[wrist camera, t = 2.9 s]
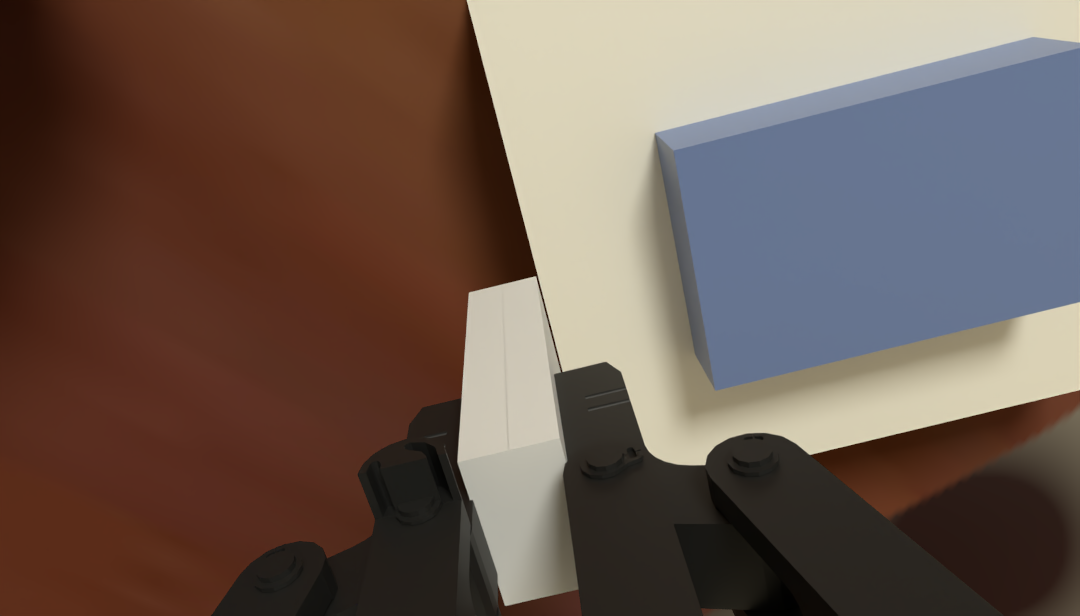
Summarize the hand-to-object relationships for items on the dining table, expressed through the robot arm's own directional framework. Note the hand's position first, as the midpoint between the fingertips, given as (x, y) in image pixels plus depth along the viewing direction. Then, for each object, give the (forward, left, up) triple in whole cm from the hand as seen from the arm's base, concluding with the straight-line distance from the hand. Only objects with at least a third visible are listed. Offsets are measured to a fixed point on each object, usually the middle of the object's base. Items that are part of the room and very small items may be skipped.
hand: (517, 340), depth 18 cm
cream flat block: (+9, 0, -7) cm, 11 cm away
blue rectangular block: (+9, 0, -3) cm, 9 cm away
